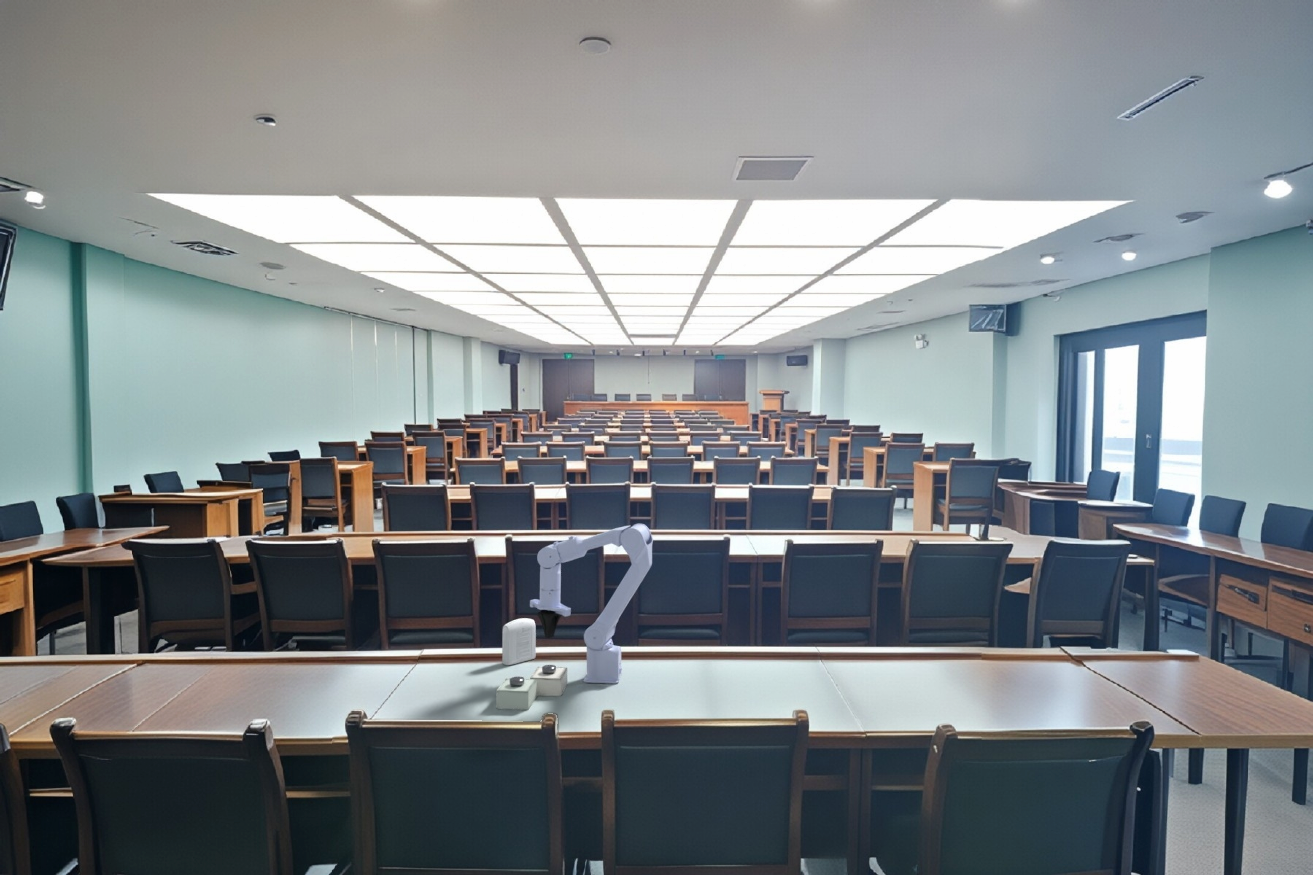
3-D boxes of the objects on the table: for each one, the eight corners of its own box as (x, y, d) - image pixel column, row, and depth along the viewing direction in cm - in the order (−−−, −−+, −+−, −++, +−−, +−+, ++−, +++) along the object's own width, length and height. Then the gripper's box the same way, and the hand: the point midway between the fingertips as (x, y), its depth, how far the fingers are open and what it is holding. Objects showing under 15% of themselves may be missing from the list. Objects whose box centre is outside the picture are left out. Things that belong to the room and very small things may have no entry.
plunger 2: (561, 683, 183) (561, 663, 183) (556, 690, 177) (556, 670, 177) (541, 682, 183) (541, 663, 183) (536, 690, 178) (536, 670, 178)
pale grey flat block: (536, 696, 175) (536, 679, 175) (528, 709, 167) (528, 691, 167) (506, 695, 176) (506, 678, 176) (496, 708, 168) (496, 690, 168)
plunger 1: (530, 695, 174) (529, 675, 174) (524, 704, 169) (524, 683, 169) (509, 695, 175) (509, 674, 174) (503, 703, 169) (503, 682, 169)
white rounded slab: (530, 655, 207) (529, 614, 207) (538, 658, 204) (537, 617, 204) (500, 663, 200) (499, 621, 200) (507, 667, 197) (507, 624, 197)
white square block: (567, 684, 184) (567, 667, 184) (560, 695, 176) (560, 678, 176) (538, 683, 185) (537, 666, 184) (530, 694, 177) (530, 677, 177)
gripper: (521, 586, 192) (521, 634, 193) (557, 595, 183) (556, 646, 184) (540, 582, 198) (540, 629, 198) (576, 590, 189) (575, 639, 189)
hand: (549, 636), depth 191 cm, fingers closed
